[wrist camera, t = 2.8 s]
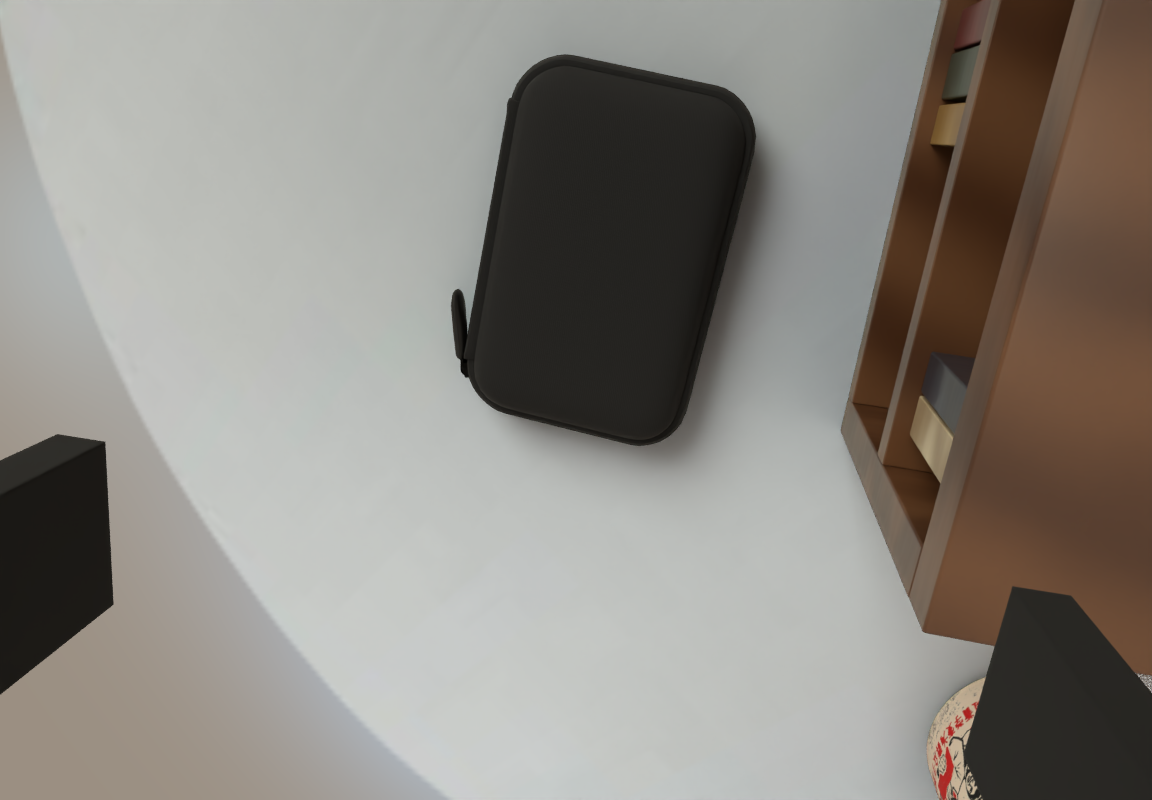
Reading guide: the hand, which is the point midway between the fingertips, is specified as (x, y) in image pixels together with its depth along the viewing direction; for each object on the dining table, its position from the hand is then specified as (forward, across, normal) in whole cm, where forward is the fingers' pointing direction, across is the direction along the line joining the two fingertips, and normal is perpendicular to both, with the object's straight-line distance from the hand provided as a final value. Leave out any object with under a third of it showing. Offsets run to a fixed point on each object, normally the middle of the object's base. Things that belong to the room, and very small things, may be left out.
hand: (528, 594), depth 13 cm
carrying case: (+26, -2, +2) cm, 26 cm away
